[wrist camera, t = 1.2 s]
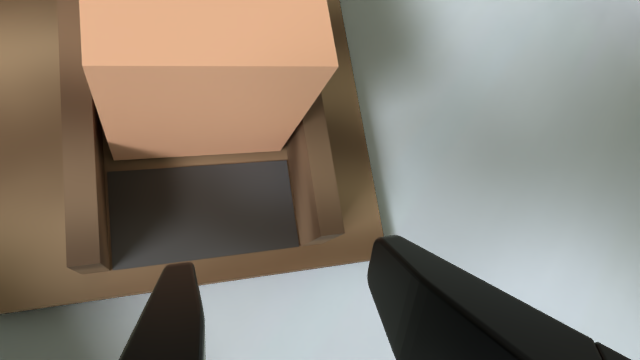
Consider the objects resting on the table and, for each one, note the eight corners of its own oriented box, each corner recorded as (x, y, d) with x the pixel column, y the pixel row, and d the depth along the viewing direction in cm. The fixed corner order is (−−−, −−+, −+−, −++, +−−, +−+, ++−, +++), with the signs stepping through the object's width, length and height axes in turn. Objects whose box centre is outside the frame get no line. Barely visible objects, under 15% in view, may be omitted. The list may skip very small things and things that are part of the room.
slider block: (280, 150, 22) (338, 66, 14) (113, 160, 19) (81, 65, 12) (257, -3, 23) (299, -148, 16) (103, -11, 21) (70, -184, 14)
